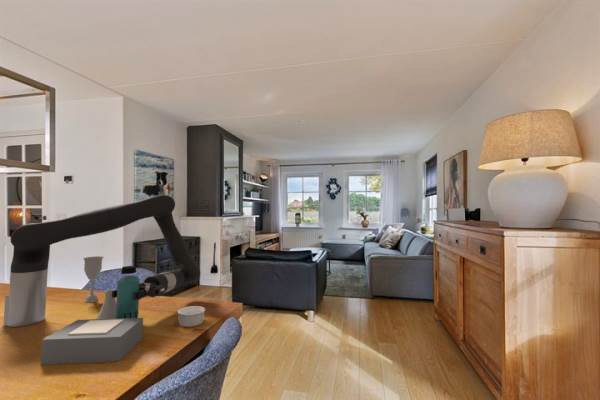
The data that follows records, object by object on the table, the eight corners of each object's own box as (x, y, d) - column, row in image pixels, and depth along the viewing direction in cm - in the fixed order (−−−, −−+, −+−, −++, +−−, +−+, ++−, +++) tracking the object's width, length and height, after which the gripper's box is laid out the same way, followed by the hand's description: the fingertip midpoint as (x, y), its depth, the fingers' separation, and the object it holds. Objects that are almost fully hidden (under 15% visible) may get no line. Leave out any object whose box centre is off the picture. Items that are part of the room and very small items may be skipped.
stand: (40, 364, 68) (42, 337, 68) (76, 340, 81) (78, 318, 81) (119, 361, 70) (120, 335, 70) (142, 338, 83) (143, 316, 83)
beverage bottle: (120, 335, 85) (123, 268, 86) (110, 330, 88) (113, 266, 89) (142, 327, 90) (144, 265, 91) (131, 323, 94) (134, 263, 95)
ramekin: (193, 316, 102) (193, 304, 102) (210, 321, 97) (210, 308, 97) (171, 324, 94) (171, 311, 94) (188, 330, 89) (189, 316, 90)
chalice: (92, 303, 114) (95, 259, 115) (76, 303, 114) (78, 258, 115) (105, 298, 121) (107, 256, 122) (90, 297, 122) (92, 256, 122)
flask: (108, 324, 93) (109, 294, 93) (90, 322, 94) (92, 292, 95) (126, 316, 100) (127, 288, 101) (109, 315, 101) (110, 287, 102)
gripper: (144, 272, 106) (106, 282, 90) (177, 274, 103) (143, 285, 87) (143, 292, 106) (104, 305, 90) (176, 295, 102) (142, 309, 87)
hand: (123, 295), depth 88 cm, fingers open, 8 cm apart
